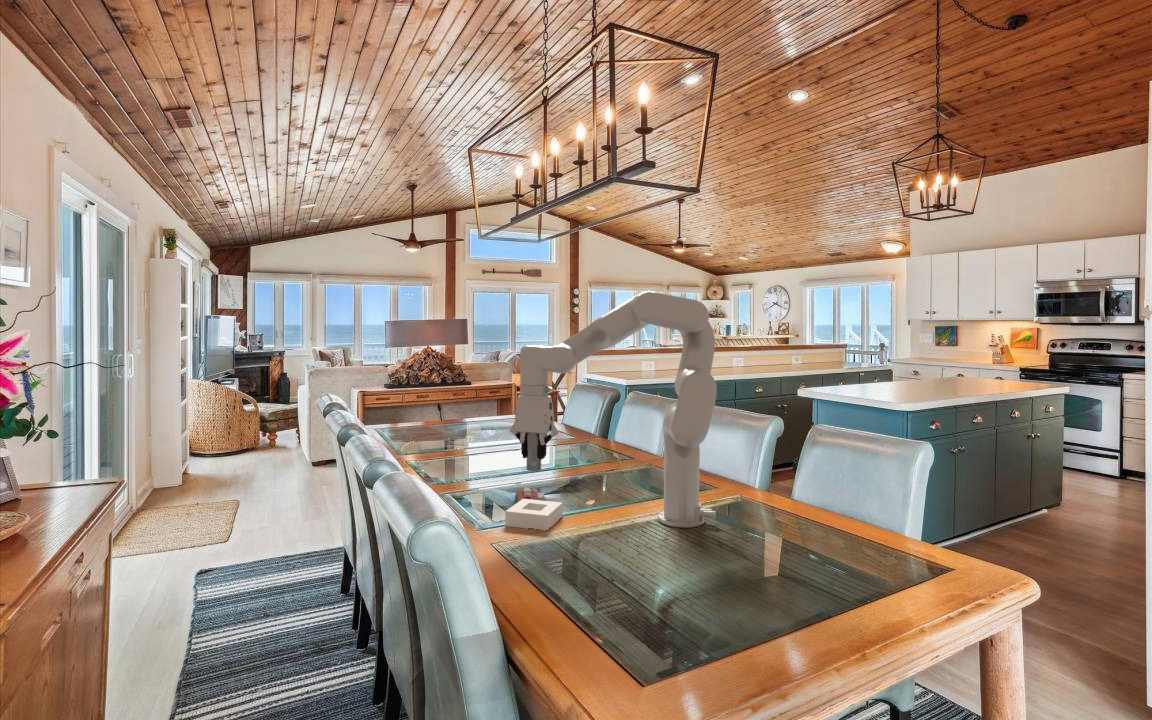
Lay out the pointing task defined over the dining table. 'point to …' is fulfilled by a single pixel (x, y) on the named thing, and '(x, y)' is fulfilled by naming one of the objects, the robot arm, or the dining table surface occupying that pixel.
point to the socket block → (534, 514)
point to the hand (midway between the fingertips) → (533, 457)
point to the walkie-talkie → (529, 495)
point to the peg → (533, 452)
